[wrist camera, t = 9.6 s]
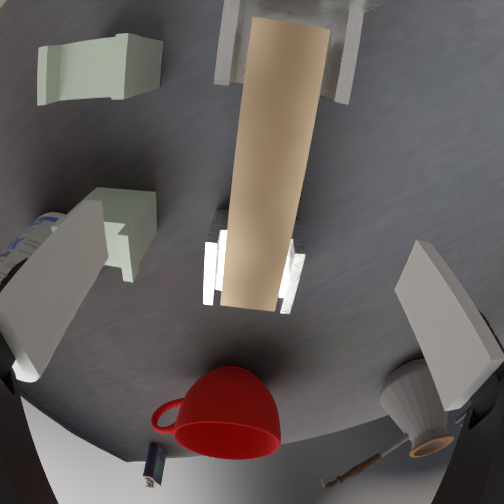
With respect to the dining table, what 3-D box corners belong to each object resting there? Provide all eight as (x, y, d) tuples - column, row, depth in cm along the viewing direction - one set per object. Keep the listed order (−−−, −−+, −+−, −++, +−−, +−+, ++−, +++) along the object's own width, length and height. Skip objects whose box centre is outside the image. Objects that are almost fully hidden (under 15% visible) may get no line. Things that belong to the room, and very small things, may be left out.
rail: (226, 272, 26) (220, 305, 23) (255, 27, 16) (252, 16, 12) (273, 278, 26) (274, 311, 23) (318, 36, 16) (330, 29, 13)
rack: (98, 224, 28) (61, 269, 22) (93, 46, 19) (38, 47, 13) (160, 232, 28) (133, 282, 22) (167, 41, 19) (128, 32, 13)
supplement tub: (41, 193, 26) (-53, 280, 14) (114, 236, 29) (39, 349, 17) (31, 258, 31) (-36, 344, 19) (93, 296, 33) (40, 397, 21)
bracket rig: (212, 265, 30) (189, 366, 20) (240, -3, 17) (217, -63, 7) (286, 274, 30) (293, 378, 20) (337, 12, 17) (398, -29, 7)
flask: (167, 456, 63) (160, 493, 54) (156, 454, 63) (149, 490, 54) (158, 443, 58) (149, 484, 49) (146, 440, 58) (137, 481, 49)
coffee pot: (447, 339, 36) (484, 430, 23) (441, 380, 42) (466, 456, 29) (304, 383, 41) (310, 482, 28) (320, 415, 47) (327, 496, 34)
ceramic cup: (146, 351, 38) (125, 415, 30) (275, 347, 36) (276, 420, 28) (176, 401, 45) (165, 455, 37) (283, 399, 43) (284, 458, 35)
